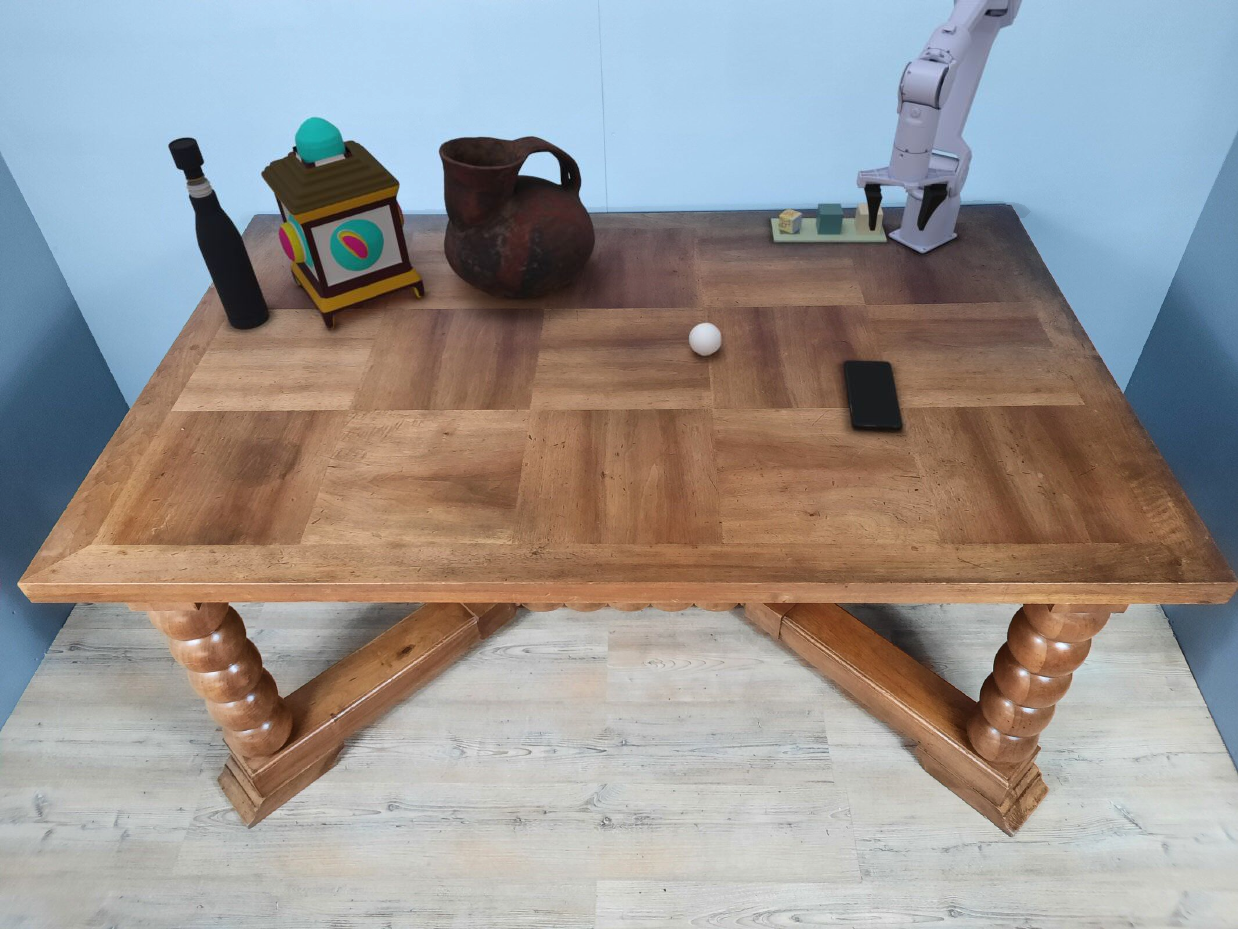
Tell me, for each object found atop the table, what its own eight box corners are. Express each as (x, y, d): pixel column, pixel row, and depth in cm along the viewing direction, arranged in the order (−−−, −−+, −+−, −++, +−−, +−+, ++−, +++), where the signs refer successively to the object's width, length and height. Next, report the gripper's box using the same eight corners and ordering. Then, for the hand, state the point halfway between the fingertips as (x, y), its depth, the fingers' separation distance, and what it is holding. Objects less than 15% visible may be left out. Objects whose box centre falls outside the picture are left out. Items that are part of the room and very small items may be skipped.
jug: (618, 300, 146) (613, 156, 129) (472, 337, 140) (446, 191, 123) (569, 231, 163) (558, 95, 146) (437, 261, 157) (409, 123, 140)
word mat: (879, 219, 163) (879, 217, 163) (886, 242, 157) (887, 239, 157) (770, 220, 164) (771, 217, 164) (774, 242, 158) (774, 239, 158)
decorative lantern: (392, 248, 161) (353, 81, 140) (437, 298, 149) (401, 123, 128) (285, 283, 153) (227, 112, 132) (323, 338, 141) (265, 160, 120)
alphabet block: (792, 234, 159) (793, 219, 157) (777, 229, 161) (779, 214, 158) (801, 228, 161) (803, 212, 159) (786, 222, 162) (788, 207, 160)
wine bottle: (258, 331, 143) (190, 153, 122) (222, 327, 144) (149, 151, 123) (276, 308, 148) (214, 134, 127) (242, 305, 149) (174, 131, 128)
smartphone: (852, 425, 121) (843, 359, 132) (851, 430, 122) (842, 363, 132) (903, 427, 120) (890, 360, 131) (902, 432, 121) (889, 365, 132)
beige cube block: (876, 223, 161) (879, 203, 159) (879, 234, 158) (883, 214, 156) (854, 223, 162) (857, 203, 159) (857, 234, 159) (860, 214, 156)
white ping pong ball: (724, 346, 137) (726, 319, 133) (715, 364, 133) (717, 338, 130) (693, 340, 138) (694, 314, 134) (684, 358, 135) (685, 332, 131)
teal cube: (837, 223, 162) (840, 203, 159) (840, 234, 159) (843, 214, 156) (815, 223, 162) (818, 203, 159) (817, 234, 159) (820, 214, 156)
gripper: (868, 157, 129) (853, 240, 138) (969, 157, 128) (947, 240, 137) (860, 136, 134) (847, 218, 143) (958, 136, 133) (938, 218, 142)
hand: (895, 227), depth 141 cm, fingers open, 7 cm apart
